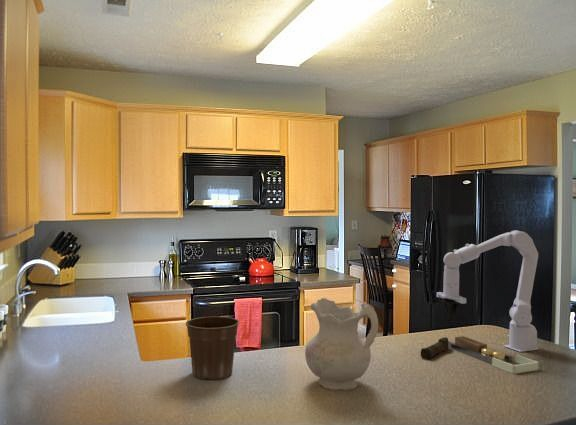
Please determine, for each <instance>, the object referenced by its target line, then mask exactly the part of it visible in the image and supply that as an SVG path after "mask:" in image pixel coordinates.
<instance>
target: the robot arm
mask: <svg viewBox="0 0 576 425" xmlns="http://www.w3.org/2000/svg"><path fill="white" fill-rule="evenodd" d="M500 246H504V247H511V246H512V247H513V248H514V249H516V250H517V251H518V252H519V254H520V255H521V256H522V263H521V268H520V272H519V278H518V285H517V290H516V294H515V295H516V297H515V298H514V300H513V304H512V306H511V307H510V309H509V312H508V313H509V317H510V318H511V320H510V322H509V336H508V337H509V338H508V339H509V340H508V341H509V342H508V344H504V345H503V347H504V348H506V349H510V350H512V351H517V352H520V353H522V352H529V351H530V352H531V351H536V350H537V351H538V350H539V347H538V346H537V344H538V331H537V329H536V326H534V325H533V324H531V323H532V321H533V316H532V312H531V311H532V310H531V309H532V306H531V298H532V294H533V287H534V282H535V277H536V273H537V272H536V270H537V266H538V260H539V252H538V250H537V247H536V245H535V243H534V240H533V238H532V237H531V236H530V235H529V234H528V233H527V232H525V231H520V230H517V229H515V230H511V231H510V232H509V231H508V232H504V233H502V234H498V235H497V236H494V237H492V238H490V239H488V240H486V241H483V242H481V243H479V244H477V245H476V244H473V243H471V244H469V243H466V244H465V245H464V246H463V247H460V248H459V249H453V252H447V253H446V254H445V255H444V257H443V259H442V260H443V263H444V266H443V270H444V271H443V286H442V287H443V288H442V289H443V290H442V291H443V292H441V291H438V292H436V298H441V299H442V300H441V304H442V306H443V309H444V311H445V316H446V320H454V319H455V316H456V313H457V310H458V308H459V306H460V304H462V305H463V304H467V298H466V297H463V296H461V295H460V266H461V264H462V265H463V264H465V263H469V262H471V261H473V260H476V259H478V258H479V257H480V255H481V253H484V252H487V251H490V250H492V249H495V248H497V247H500Z"/></svg>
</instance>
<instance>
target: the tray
mask: <svg viewBox="0 0 576 425" xmlns="http://www.w3.org/2000/svg"><path fill="white" fill-rule="evenodd" d="M515 363H517V364H512V363H510V362H508V361H505V362H504V361H501V360H498V359H496V358H492V364H491V366H493V367H495V368H498V369H501V370H503V371H506V372H508V373H511V374H514V375H516V374H520V373H527V372H529V373H530V372H534V371H539V370H540V362H539V361H537V360H534V359H531V358H528V357H525V356H522V355H520V354H515Z"/></svg>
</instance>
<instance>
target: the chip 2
mask: <svg viewBox="0 0 576 425" xmlns="http://www.w3.org/2000/svg"><path fill="white" fill-rule="evenodd" d="M505 354H506V353H505V352H504V351H500V350H496V351H493V352H492V357H493V358H496V359H498V360H501V361H504V362H506V361H505Z"/></svg>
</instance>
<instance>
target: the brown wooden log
mask: <svg viewBox="0 0 576 425" xmlns="http://www.w3.org/2000/svg"><path fill="white" fill-rule="evenodd" d="M448 341H449V338H448V337H442V338H439V339H438V342H436V343H434V344H432V345H431V344H430V345H429V346H428V347H424V348H423V347H422V348H421V350H420V357H421V359H425V360H431V359H432V358H433V357H434V356H436V355H438V354H440V353H445V352H447V351H448V349H449V347H448Z"/></svg>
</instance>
